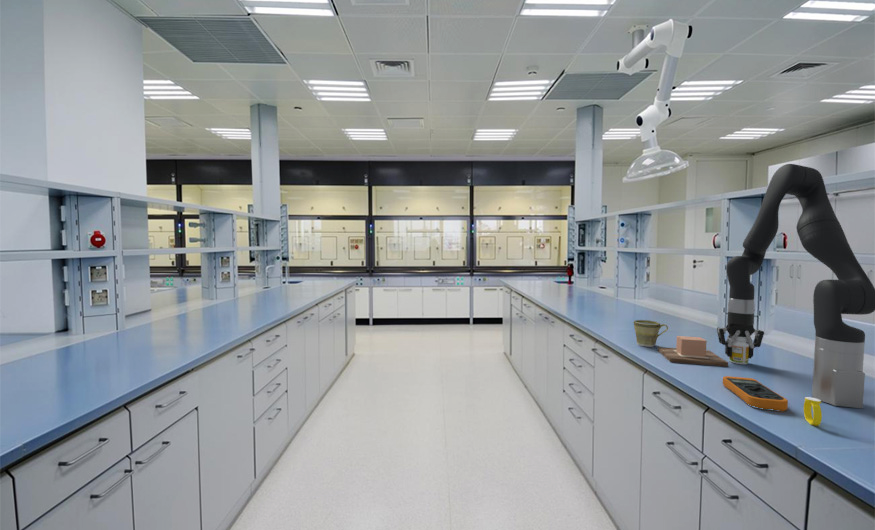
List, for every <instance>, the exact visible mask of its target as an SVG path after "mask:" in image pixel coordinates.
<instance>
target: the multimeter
mask: <svg viewBox="0 0 875 530" xmlns="http://www.w3.org/2000/svg"><path fill="white" fill-rule="evenodd" d="M722 385H723V386H724V387H725V388H726V389H727V388H728V389H727V390H729V391H730V390H731V391H730V392H732V393H733V394H734V393H735V394H734V395H736V396H737V397H738V396H739V397H740V398H739V397H738V398H739V399H741V400H742V401H743V400H744V401H745V402H746V403H745V402H744V401H743V402H744V403H745V404H747V405H748V404H749V405H751V406H755V407H758V408H763V409H773V410H779V411H778V412H781V411H782V412H785V410H786V411H787V410H788V408H789V406H788V405H789V399H787V398H785V397H784V396H782V395H781V394H779V393H777V392H776V391H774V390H772V389H770V388H769V387H767V386H766V385H764V383H761V382H759V381H758V380H757V379H755V378H751V377H740V376H728V375H727V376H723V377H722ZM749 405H748V406H749ZM751 406H750V407H751Z"/></svg>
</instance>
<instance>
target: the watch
mask: <svg viewBox="0 0 875 530" xmlns="http://www.w3.org/2000/svg"><path fill="white" fill-rule="evenodd" d="M820 404H822V401H821V400H819V399H816V398H814V397H813V396H805V397H804V402H803V415H804V419H805V421H806V422H808V424H809V425H810V426H815V427H819V426H820V425H821V422H822V418H823V414H822V408H821V405H820ZM812 412H813V413H812Z"/></svg>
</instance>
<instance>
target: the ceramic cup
mask: <svg viewBox="0 0 875 530" xmlns="http://www.w3.org/2000/svg"><path fill="white" fill-rule="evenodd" d="M633 326H634V331H635V338H636V344H637V345H638V346H639V345H640V347H643V346H645V347H644V348H654V347H653V346H655V347H656V343H657V340H658V337H659V336H661V335H663V334H665V332H667V331H668V330H669V327H668V325H667V324H664V323H662V324H661V322H659V321H656V320H651V319H649V320H647V319H635V320H633ZM662 327H666V329H665V330H664V331H662V332H660V333H659V331H660V329H661V328H662Z"/></svg>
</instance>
